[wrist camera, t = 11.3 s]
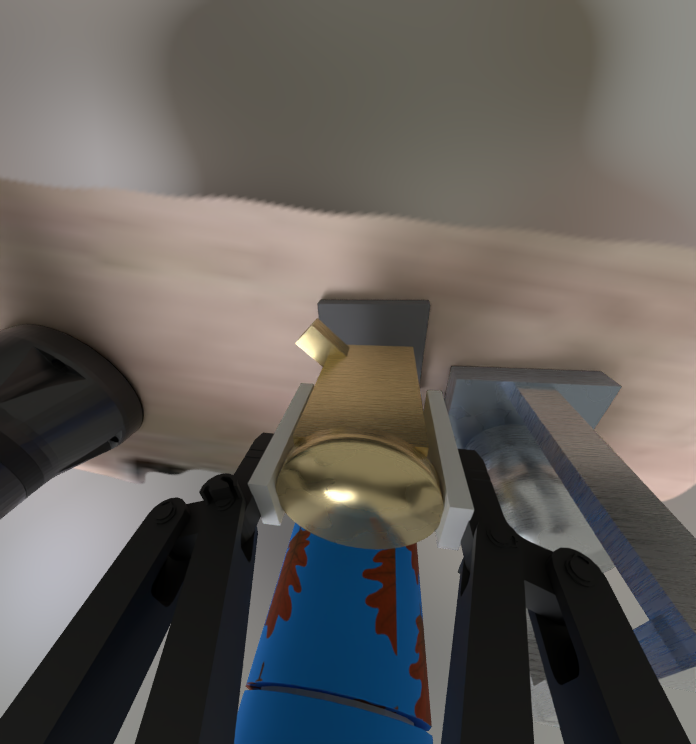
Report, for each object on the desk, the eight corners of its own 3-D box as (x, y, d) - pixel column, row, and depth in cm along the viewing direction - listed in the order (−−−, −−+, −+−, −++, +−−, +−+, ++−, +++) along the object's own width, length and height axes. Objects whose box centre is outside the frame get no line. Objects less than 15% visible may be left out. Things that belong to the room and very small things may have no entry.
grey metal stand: (427, 481, 29) (459, 707, 16) (451, 365, 21) (557, 630, 8) (532, 491, 28) (665, 750, 14) (601, 371, 20) (1050, 710, 6)
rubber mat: (328, 385, 24) (326, 391, 23) (320, 299, 20) (317, 303, 19) (416, 390, 23) (417, 396, 22) (428, 300, 18) (430, 304, 18)
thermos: (329, 494, 33) (226, 983, 12) (302, 435, 28) (39, 1115, 7) (415, 493, 30) (472, 1113, 10) (403, 427, 25) (471, 1481, 4)
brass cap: (465, 399, 17) (523, 547, 10) (387, 445, 20) (384, 581, 13) (349, 282, 14) (301, 362, 7) (279, 358, 18) (195, 468, 10)
